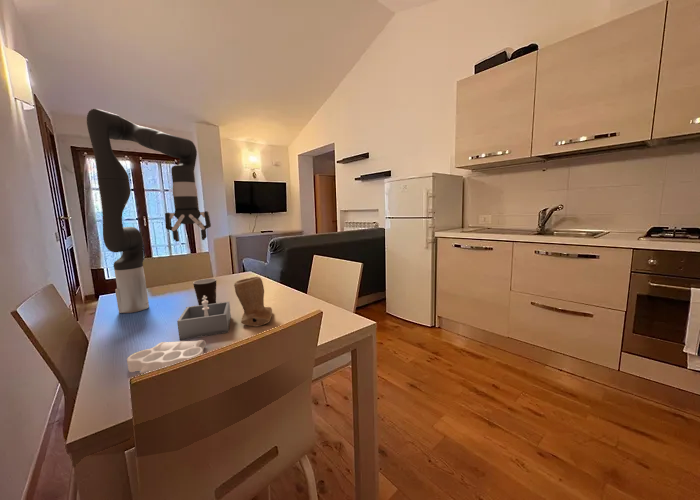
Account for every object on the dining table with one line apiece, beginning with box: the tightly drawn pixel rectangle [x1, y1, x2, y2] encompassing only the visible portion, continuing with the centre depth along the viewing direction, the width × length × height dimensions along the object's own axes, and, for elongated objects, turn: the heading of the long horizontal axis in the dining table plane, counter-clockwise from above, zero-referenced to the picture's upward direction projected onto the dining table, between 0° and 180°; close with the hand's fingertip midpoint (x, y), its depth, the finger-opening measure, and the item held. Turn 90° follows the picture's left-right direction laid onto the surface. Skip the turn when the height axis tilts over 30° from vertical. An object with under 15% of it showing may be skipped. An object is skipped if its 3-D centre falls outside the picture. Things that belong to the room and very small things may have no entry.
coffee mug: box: [192, 278, 217, 305], centre depth 121 cm, size 12×9×10 cm
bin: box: [176, 301, 232, 341], centre depth 96 cm, size 14×14×6 cm
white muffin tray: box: [126, 339, 206, 374], centre depth 76 cm, size 3×18×15 cm
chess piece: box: [202, 295, 209, 317], centre depth 96 cm, size 5×5×10 cm
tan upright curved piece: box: [233, 276, 273, 327], centre depth 101 cm, size 15×12×15 cm
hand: (190, 240), depth 107 cm, fingers open, 8 cm apart
